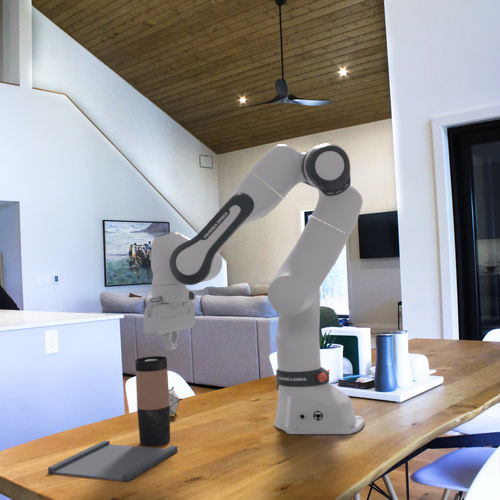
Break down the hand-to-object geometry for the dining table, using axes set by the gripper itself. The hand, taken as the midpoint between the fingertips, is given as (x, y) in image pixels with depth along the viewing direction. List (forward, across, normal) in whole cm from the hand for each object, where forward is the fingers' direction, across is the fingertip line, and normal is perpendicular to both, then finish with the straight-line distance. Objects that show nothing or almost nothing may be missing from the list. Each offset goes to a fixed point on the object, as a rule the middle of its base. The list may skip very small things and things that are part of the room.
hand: (171, 349), depth 149 cm
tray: (+21, -24, 0) cm, 32 cm away
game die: (+21, +12, +9) cm, 26 cm away
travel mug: (+21, -10, -1) cm, 23 cm away
